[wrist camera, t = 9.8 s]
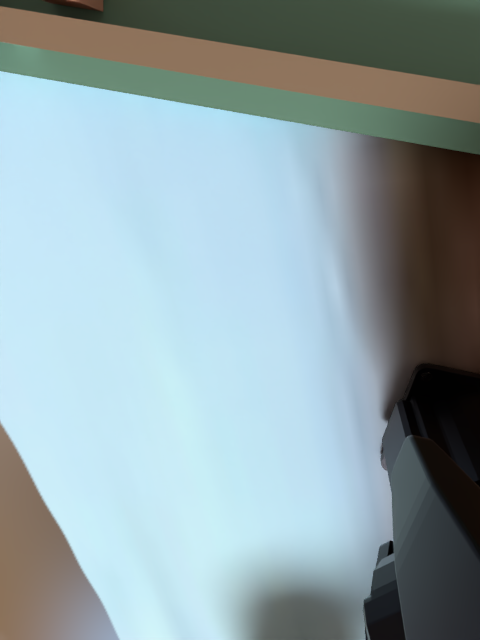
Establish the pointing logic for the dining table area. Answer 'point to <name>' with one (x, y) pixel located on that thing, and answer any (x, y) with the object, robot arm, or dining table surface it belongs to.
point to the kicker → (80, 4)
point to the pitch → (271, 59)
